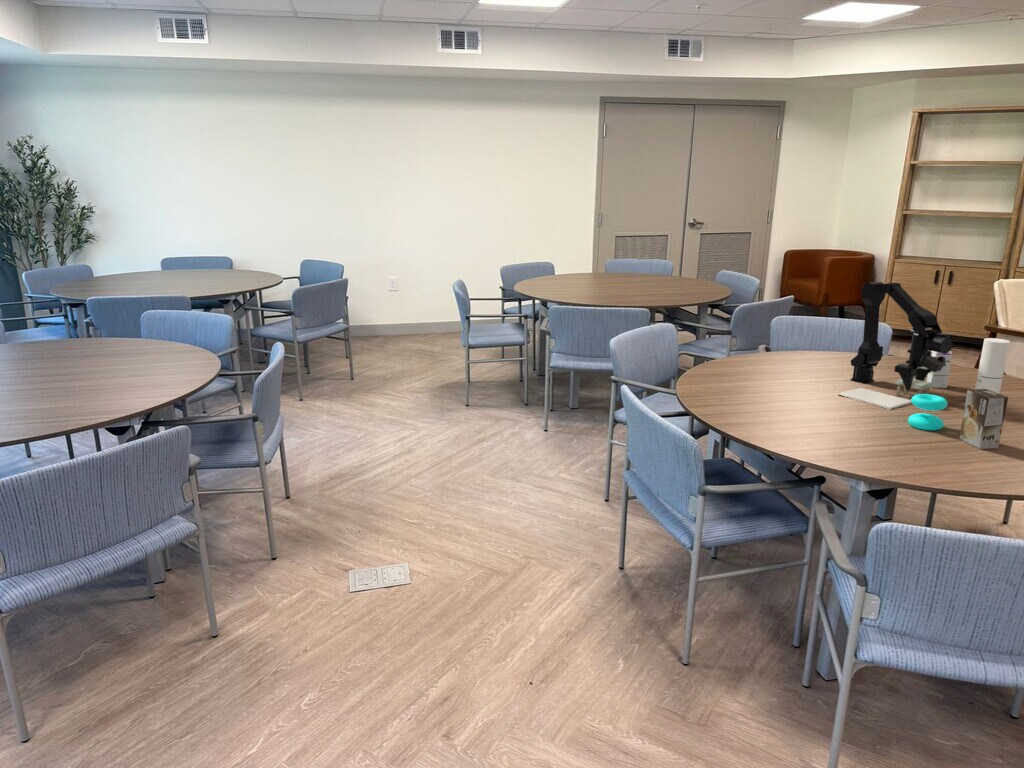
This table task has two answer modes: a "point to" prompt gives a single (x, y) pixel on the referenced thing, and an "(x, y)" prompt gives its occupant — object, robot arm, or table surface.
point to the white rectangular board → (876, 398)
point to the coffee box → (983, 418)
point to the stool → (914, 386)
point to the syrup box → (941, 376)
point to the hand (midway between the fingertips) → (913, 388)
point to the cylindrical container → (992, 364)
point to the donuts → (927, 420)
